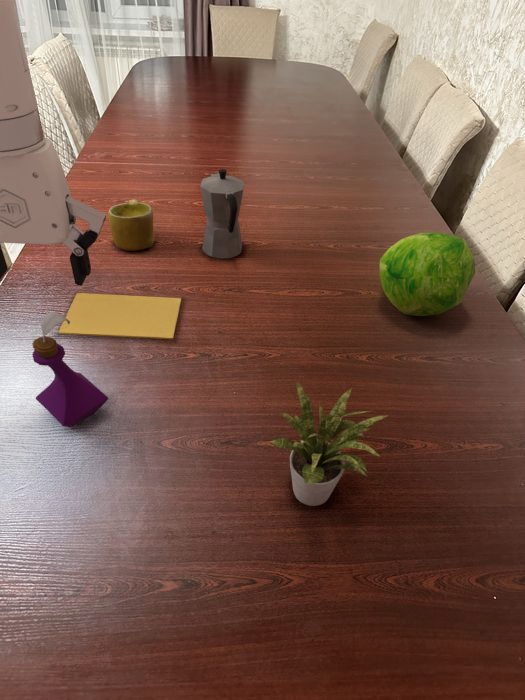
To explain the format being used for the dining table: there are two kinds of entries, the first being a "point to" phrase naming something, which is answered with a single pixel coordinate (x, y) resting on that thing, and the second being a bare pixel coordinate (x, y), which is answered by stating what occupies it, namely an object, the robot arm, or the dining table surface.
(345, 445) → the house plant
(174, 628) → the dining table surface
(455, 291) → the lettuce
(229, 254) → the coffeepot
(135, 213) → the mug
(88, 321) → the yellow rectangular board
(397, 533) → the dining table surface
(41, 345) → the purple potion bottle
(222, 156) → the dining table surface
